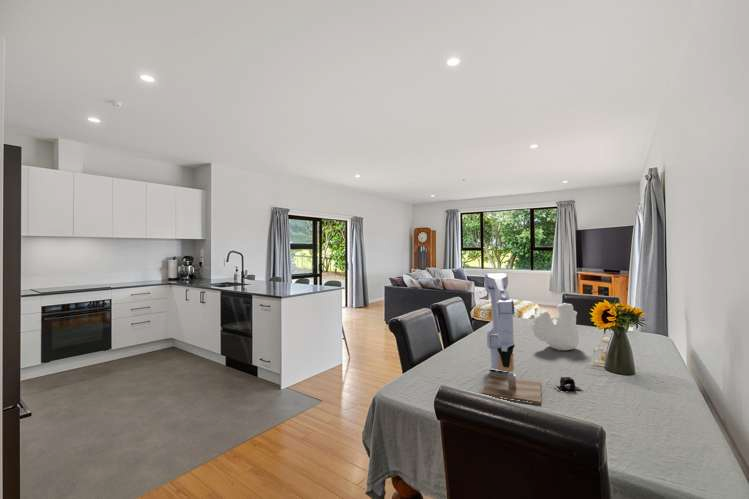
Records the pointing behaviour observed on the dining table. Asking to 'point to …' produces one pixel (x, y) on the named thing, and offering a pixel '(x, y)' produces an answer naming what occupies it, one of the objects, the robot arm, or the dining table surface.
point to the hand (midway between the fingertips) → (506, 364)
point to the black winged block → (570, 387)
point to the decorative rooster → (557, 328)
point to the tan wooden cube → (506, 367)
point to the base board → (513, 389)
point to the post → (512, 380)
